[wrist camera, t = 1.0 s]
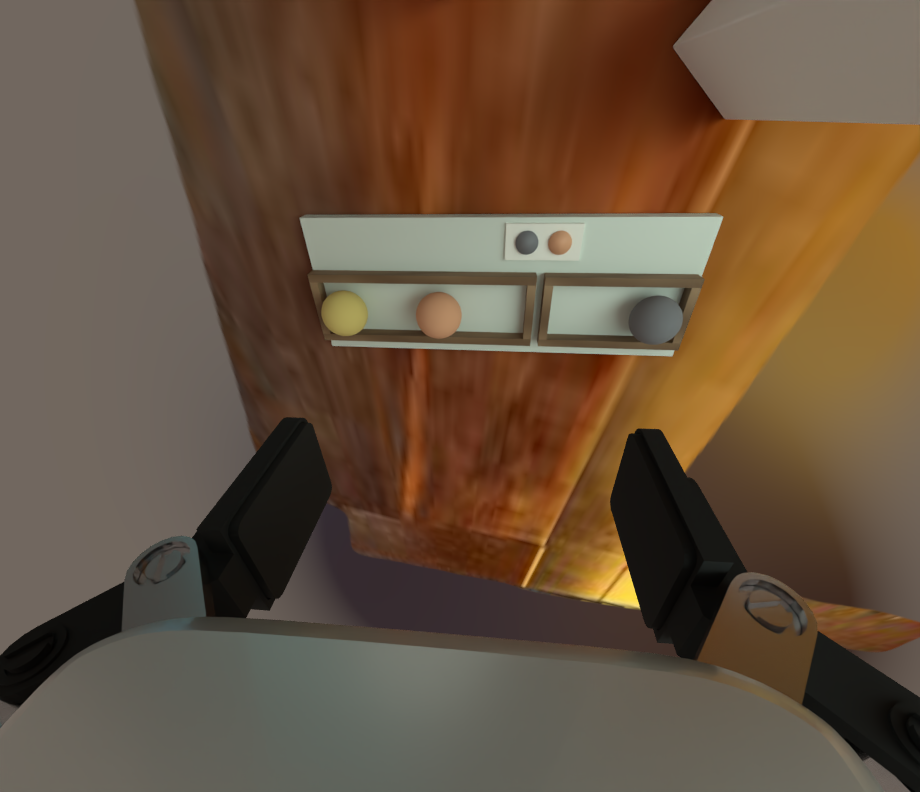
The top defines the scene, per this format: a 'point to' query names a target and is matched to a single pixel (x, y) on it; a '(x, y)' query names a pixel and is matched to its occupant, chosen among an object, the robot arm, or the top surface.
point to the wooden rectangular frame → (686, 281)
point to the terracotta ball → (438, 315)
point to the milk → (808, 59)
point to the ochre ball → (344, 313)
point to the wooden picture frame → (428, 277)
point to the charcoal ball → (655, 320)
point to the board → (511, 267)
